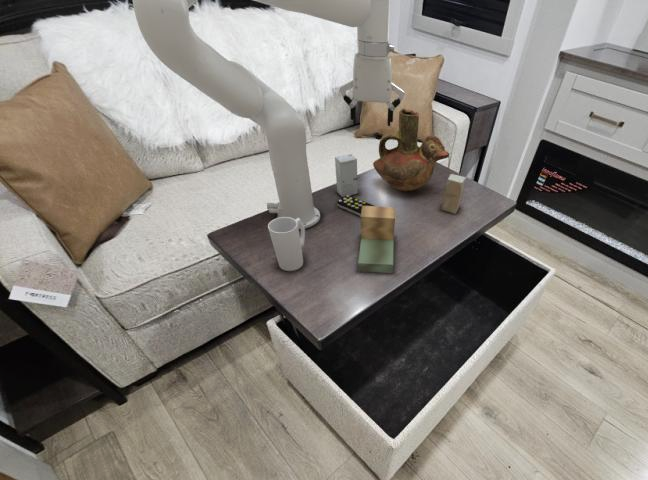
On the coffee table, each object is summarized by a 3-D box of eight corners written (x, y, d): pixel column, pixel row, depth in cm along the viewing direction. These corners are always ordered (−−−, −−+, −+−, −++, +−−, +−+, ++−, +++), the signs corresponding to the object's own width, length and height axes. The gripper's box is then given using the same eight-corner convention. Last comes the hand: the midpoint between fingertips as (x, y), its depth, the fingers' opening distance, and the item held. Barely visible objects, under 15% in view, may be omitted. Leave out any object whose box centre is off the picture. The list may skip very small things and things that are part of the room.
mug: (292, 275, 85) (283, 236, 76) (272, 266, 87) (261, 227, 78) (317, 254, 91) (312, 216, 83) (298, 246, 93) (290, 208, 85)
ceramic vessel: (439, 205, 113) (452, 127, 95) (365, 192, 116) (365, 114, 98) (446, 182, 125) (458, 109, 107) (379, 171, 128) (380, 97, 110)
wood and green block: (358, 271, 88) (357, 240, 80) (362, 235, 99) (362, 205, 92) (392, 273, 88) (394, 242, 81) (393, 237, 99) (395, 207, 92)
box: (441, 210, 111) (446, 178, 103) (444, 204, 114) (450, 172, 106) (456, 214, 110) (462, 182, 102) (459, 208, 113) (466, 176, 105)
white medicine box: (342, 197, 113) (340, 162, 104) (336, 192, 115) (333, 156, 107) (358, 193, 115) (357, 158, 107) (352, 188, 118) (351, 153, 109)
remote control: (366, 219, 105) (366, 214, 103) (335, 206, 109) (334, 200, 107) (378, 211, 108) (378, 206, 107) (347, 198, 113) (347, 193, 111)
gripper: (406, 49, 86) (401, 120, 98) (338, 43, 84) (341, 117, 97) (408, 55, 81) (403, 130, 93) (336, 49, 79) (340, 126, 92)
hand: (371, 123), depth 95 cm, fingers open, 9 cm apart
